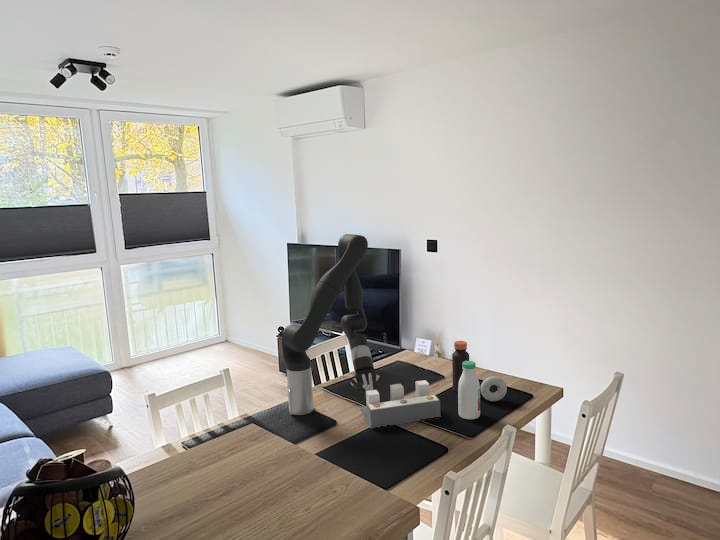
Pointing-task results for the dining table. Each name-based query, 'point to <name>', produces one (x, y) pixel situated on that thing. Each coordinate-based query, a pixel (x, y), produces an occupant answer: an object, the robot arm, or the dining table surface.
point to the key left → (372, 397)
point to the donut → (488, 383)
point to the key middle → (396, 392)
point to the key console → (401, 411)
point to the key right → (422, 388)
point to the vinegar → (458, 361)
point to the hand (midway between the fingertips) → (371, 402)
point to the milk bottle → (469, 392)
